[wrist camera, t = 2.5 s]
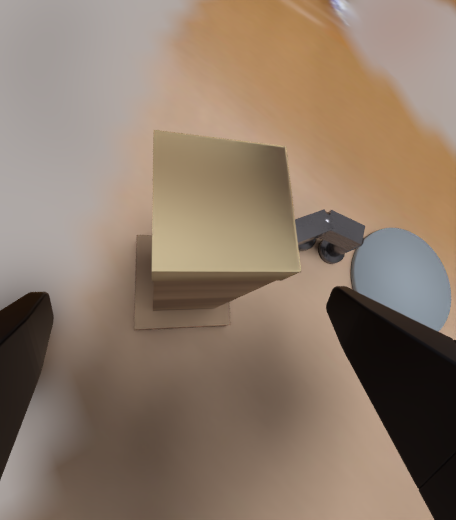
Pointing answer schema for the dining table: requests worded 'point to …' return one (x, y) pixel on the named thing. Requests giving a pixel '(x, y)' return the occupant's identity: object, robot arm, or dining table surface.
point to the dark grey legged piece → (329, 234)
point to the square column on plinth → (212, 229)
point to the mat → (403, 276)
